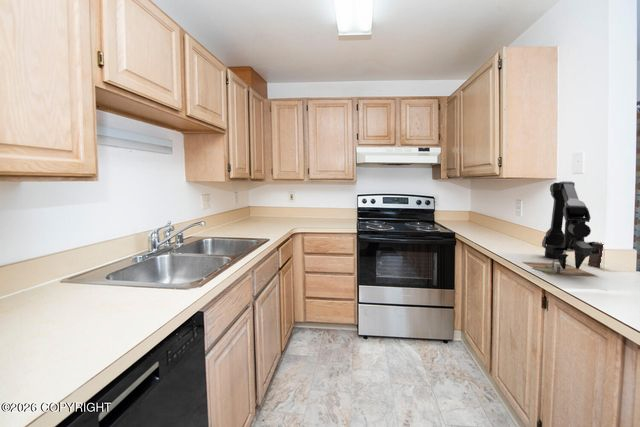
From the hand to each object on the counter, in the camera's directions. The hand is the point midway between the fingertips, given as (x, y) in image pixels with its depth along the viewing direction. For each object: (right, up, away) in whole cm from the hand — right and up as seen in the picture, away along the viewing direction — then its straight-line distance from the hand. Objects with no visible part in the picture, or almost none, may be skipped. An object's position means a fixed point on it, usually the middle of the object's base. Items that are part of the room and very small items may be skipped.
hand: (570, 268), depth 134 cm
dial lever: (-4, -1, +2) cm, 5 cm away
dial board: (-2, -2, +5) cm, 6 cm away
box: (+21, -2, +12) cm, 24 cm away
